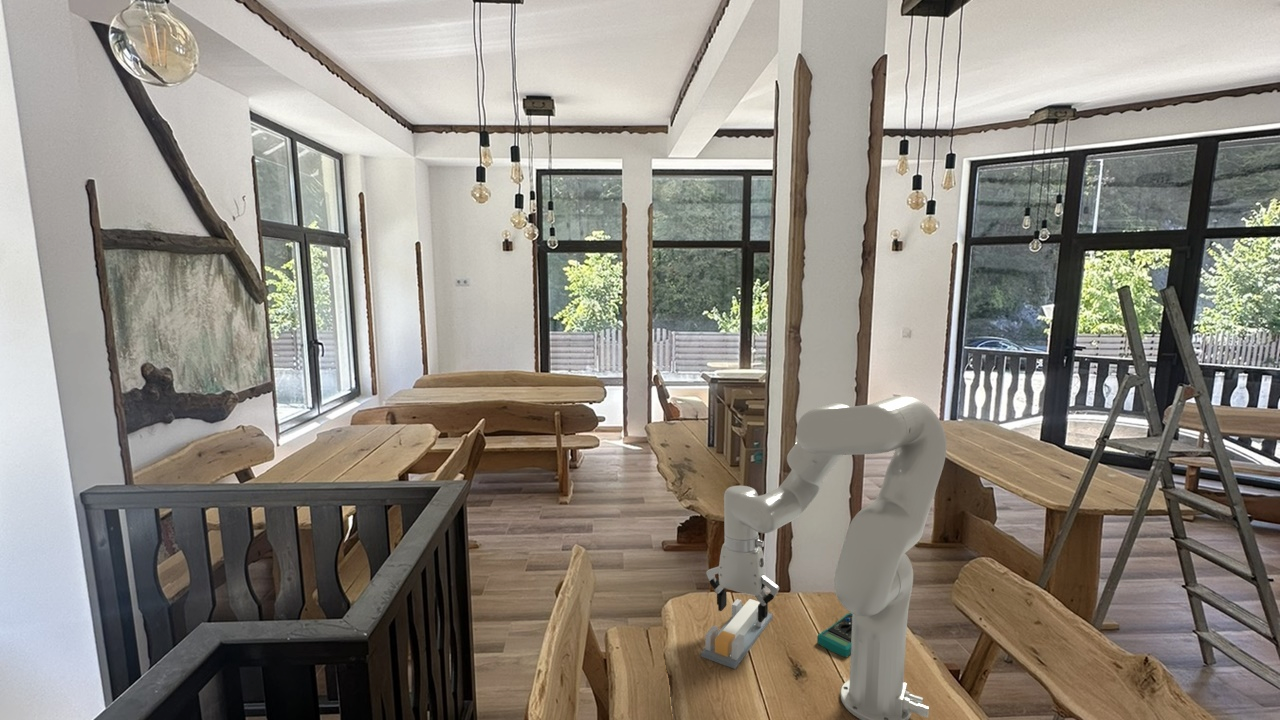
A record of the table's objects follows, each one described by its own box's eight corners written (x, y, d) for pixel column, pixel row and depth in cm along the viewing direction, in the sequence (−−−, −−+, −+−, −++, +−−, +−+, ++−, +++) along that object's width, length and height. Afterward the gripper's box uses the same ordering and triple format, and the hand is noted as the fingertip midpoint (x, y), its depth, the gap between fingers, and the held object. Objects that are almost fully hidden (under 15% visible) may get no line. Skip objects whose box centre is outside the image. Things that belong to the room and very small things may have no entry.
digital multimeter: (878, 633, 136) (878, 622, 136) (845, 660, 126) (846, 647, 126) (848, 621, 142) (849, 609, 141) (815, 645, 132) (816, 633, 131)
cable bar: (760, 613, 142) (761, 602, 142) (727, 656, 125) (727, 643, 125) (749, 610, 144) (749, 598, 143) (714, 652, 127) (714, 639, 127)
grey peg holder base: (772, 617, 142) (772, 600, 142) (735, 669, 123) (735, 649, 122) (741, 608, 146) (742, 591, 146) (701, 656, 127) (701, 637, 126)
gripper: (784, 543, 130) (784, 616, 132) (713, 529, 140) (714, 597, 141) (772, 555, 124) (772, 632, 126) (699, 540, 133) (700, 611, 135)
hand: (741, 613), depth 133 cm, fingers open, 9 cm apart
